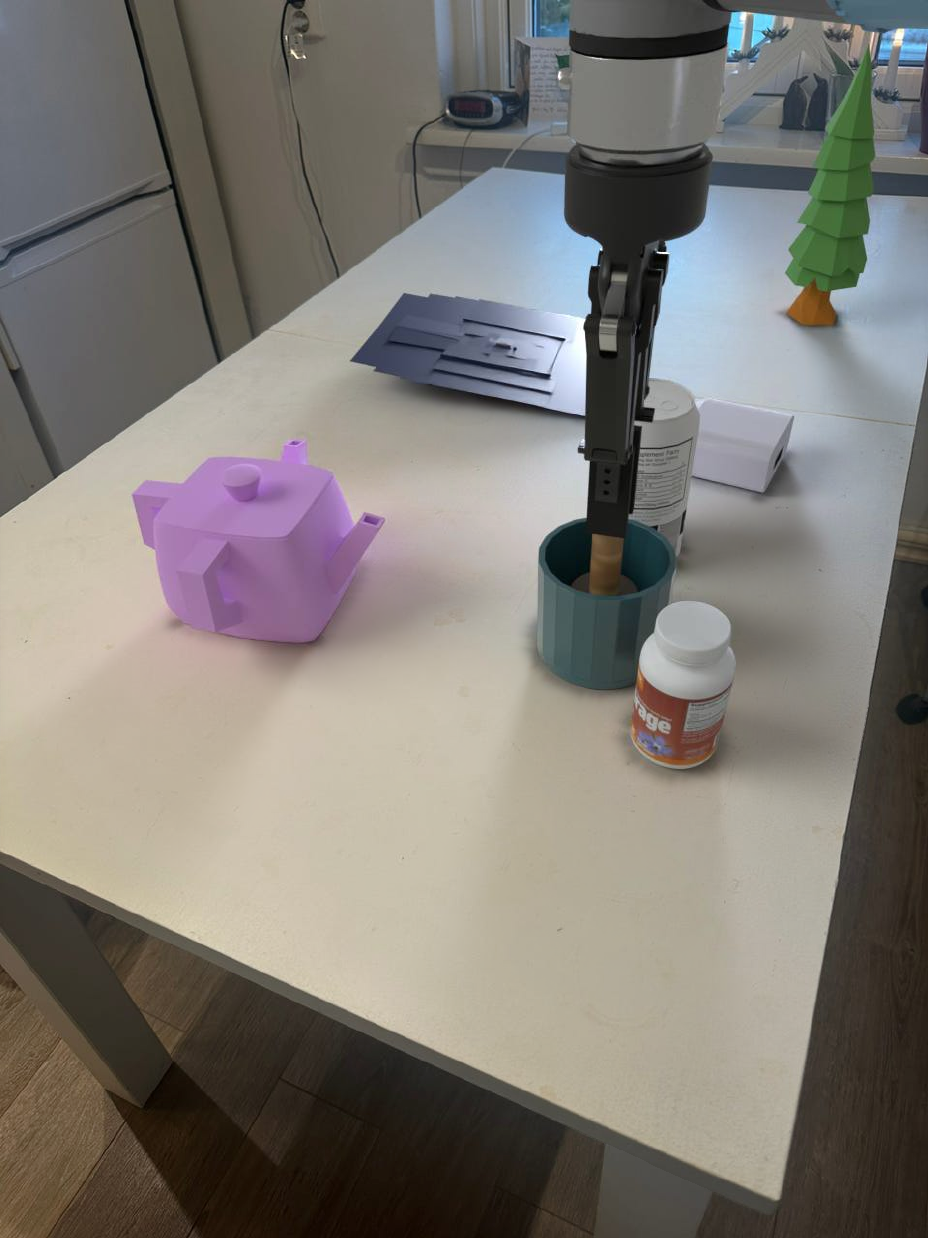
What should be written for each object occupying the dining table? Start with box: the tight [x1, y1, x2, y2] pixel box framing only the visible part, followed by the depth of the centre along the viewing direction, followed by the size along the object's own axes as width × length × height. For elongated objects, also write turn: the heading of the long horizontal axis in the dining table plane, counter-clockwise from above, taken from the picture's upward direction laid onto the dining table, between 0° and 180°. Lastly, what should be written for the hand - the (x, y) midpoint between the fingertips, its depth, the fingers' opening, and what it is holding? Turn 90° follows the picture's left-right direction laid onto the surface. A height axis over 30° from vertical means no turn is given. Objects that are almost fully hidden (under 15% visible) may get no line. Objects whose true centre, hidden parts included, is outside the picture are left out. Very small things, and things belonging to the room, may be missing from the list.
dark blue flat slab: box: [349, 292, 586, 417], centre depth 107 cm, size 24×30×4 cm
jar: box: [536, 517, 678, 690], centre depth 67 cm, size 10×10×9 cm
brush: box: [571, 410, 638, 596], centre depth 61 cm, size 5×5×20 cm
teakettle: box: [131, 438, 386, 644], centre depth 73 cm, size 17×17×12 cm
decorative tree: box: [784, 43, 877, 327], centre depth 103 cm, size 10×9×30 cm
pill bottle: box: [629, 600, 737, 770], centre depth 59 cm, size 6×6×11 cm
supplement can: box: [628, 377, 701, 558], centre depth 74 cm, size 8×8×15 cm
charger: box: [692, 397, 795, 494], centre depth 88 cm, size 5×9×15 cm
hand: (610, 519), depth 60 cm, fingers closed on brush, 2 cm apart
